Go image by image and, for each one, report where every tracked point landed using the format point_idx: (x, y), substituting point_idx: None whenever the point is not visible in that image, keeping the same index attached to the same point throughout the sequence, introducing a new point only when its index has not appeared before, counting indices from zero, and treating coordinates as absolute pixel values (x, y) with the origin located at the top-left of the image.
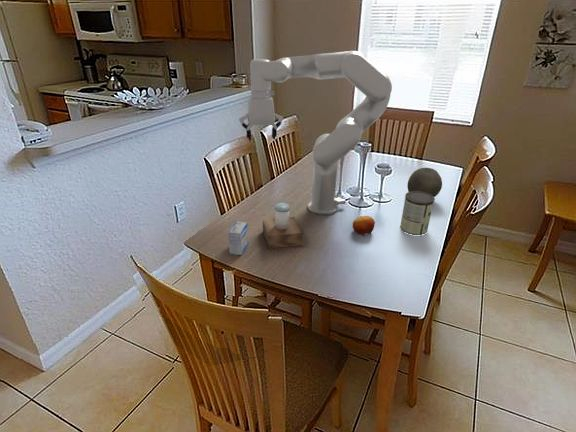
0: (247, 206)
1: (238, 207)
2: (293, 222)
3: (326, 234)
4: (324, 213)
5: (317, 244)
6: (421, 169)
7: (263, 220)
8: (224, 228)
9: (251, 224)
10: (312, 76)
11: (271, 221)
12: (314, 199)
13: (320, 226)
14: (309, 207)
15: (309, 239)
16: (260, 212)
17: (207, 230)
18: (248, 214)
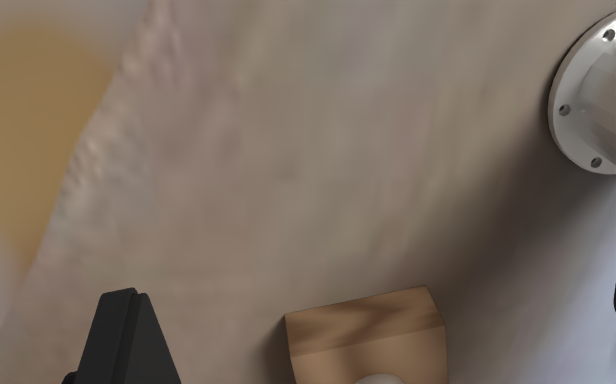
0: (179, 65)
1: (121, 80)
2: (431, 368)
3: (547, 319)
4: (611, 173)
5: (490, 378)
6: None
7: (294, 363)
8: (97, 301)
9: (226, 263)
10: None
11: (332, 367)
12: (612, 153)
13: (546, 265)
14: (558, 118)
15: (470, 353)
16: (268, 143)
17: (17, 320)
18: (199, 167)
